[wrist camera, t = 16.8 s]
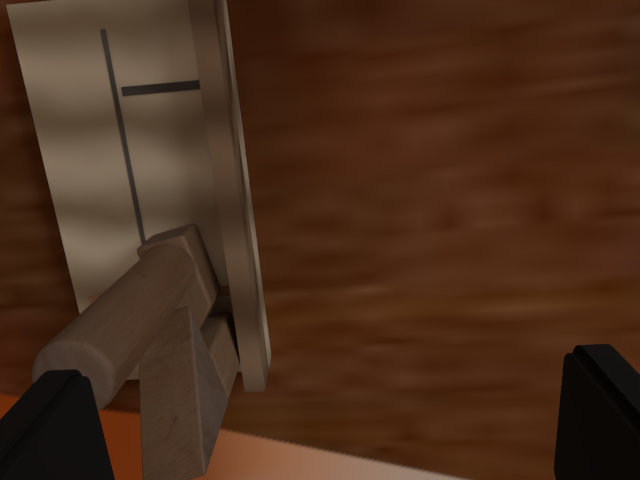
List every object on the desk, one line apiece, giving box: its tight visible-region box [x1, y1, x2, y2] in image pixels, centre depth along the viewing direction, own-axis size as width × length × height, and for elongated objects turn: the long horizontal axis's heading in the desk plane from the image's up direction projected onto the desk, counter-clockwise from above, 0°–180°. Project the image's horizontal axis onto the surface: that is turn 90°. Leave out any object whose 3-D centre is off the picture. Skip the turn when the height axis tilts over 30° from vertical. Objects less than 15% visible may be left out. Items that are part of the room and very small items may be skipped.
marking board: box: [6, 0, 271, 392], centre depth 37 cm, size 28×14×5 cm, turn 5°
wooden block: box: [32, 223, 240, 480], centre depth 31 cm, size 4×11×18 cm, turn 18°
